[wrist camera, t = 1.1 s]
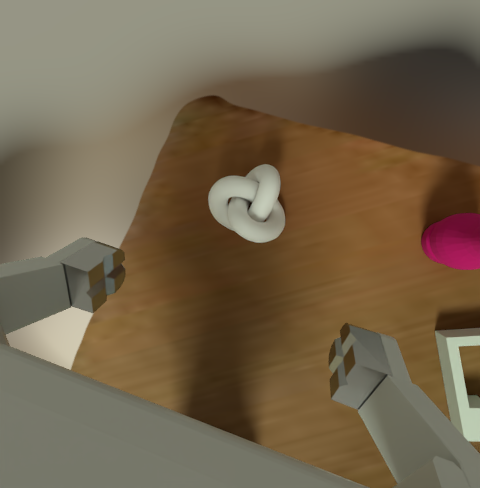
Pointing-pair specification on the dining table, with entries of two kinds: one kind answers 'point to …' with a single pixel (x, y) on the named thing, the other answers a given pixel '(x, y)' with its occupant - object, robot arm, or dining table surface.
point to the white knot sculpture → (243, 192)
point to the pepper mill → (454, 241)
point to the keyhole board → (459, 380)
